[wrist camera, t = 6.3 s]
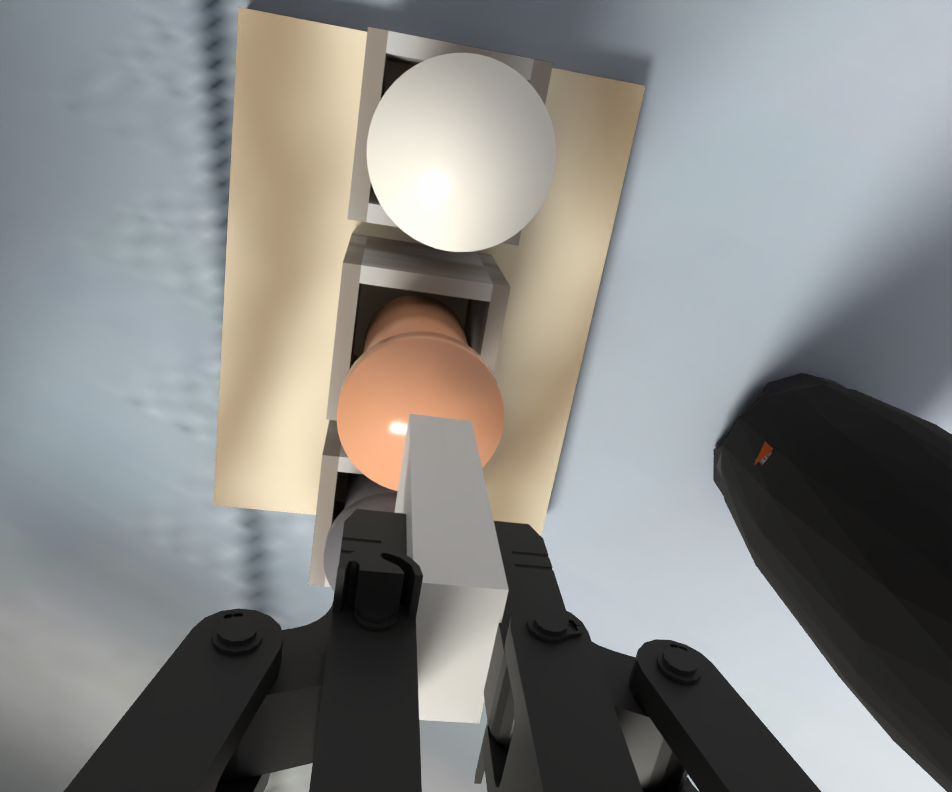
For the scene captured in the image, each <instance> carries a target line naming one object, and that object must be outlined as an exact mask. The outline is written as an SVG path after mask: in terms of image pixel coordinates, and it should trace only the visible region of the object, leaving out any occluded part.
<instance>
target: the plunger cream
mask: <svg viewBox="0 0 952 792" xmlns="http://www.w3.org/2000/svg"><path fill="white" fill-rule="evenodd" d="M555 164H556V141H555V133H554V129H553V125H552V121H551V118H550V116H549V113H548V110H547V108H546V106H545V105H544V103H543V101H542V99H541V97H540V96H539V94H538V93H537V92H536V90H535V89H534V87H533V86H532V85H531V84H530V83H529V82H528V81H527V80H526V79H525V78H524V77H523V76H522V75H520V74H519V73H518V72H517V71H516V70H514V69H513V68H511V67H509V66H508V65H506V64H504V63H503V62H500V61H498V60H496V59H493V58H491V57H487V56H483V55H480V54H472V53H450V54H444V55H439V56H436V57H433V58H430V59H427V60H425V61H423V62H421V63H419V64H417V65H415V66H413V67H412V68H410V69H409V70H407V71H406V72H405V73H403V74H402V75H401V76H400V77H399V78H398V79H397V80H396V81H395V82H394V83H393V84H392V85H391V86H390V88H389V89H388V90H387V91H386V93H385V94H384V96H383V97H382V99H381V100H380V102H379V104H378V106H377V108H376V110H375V113H374V115H373V118H372V121H371V124H370V127H369V133H368V139H367V167H368V172H369V177H370V181H371V184H372V187H373V190H374V192H375V195H376V197H377V199H378V201H379V203H380V204H381V206H382V208H383V209H384V211H385V212H386V214H387V215H388V216H389V217H390V218H391V220H392V221H393V222H394V223H395V224H396V225H397V226H398V227H399V228H400V229H401V230H403V231H404V232H405V233H406V234H408V235H409V236H411V237H412V238H414V239H415V240H417V241H419V242H421V243H423V244H425V245H428V246H430V247H433V248H436V249H440V250H445V251H452V252H472V251H478V250H483V249H486V248H490V247H493V246H495V245H498V244H500V243H502V242H504V241H506V240H507V239H509V238H511V237H512V236H514V235H515V234H517V233H518V232H519V231H520V230H521V229H523V228H524V227H525V226H526V225H527V224H528V223H529V222H530V221H531V220H532V218H533V217H534V216H535V215H536V213H537V212H538V210H539V209H540V208H541V206H542V204H543V202H544V200H545V199H546V197H547V194H548V192H549V189H550V187H551V184H552V180H553V176H554V172H555Z"/></svg>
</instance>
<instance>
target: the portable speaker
mask: <svg viewBox="0 0 952 792" xmlns="http://www.w3.org/2000/svg"><path fill="white" fill-rule="evenodd" d="M714 482H715V483H716V485H717V486H718V488H719V489H720V491H721V493H722V494H723V496H724V500H725V502H726V504H727V506H728V508H729V510H730V512H731V514H732V517H733V519H734V521H735V523H736V525H737V527H738V529H739V531H740V533H741V535H742V537H743V539H744V542H745V544H746V546H747V548H748V550H749V552H750V554H751V556H752V558H753V560H754V562H755V564H756V566H757V567H758V569H759V570H760V571H761V573H762V574H763V575H764V577H765V578H766V579H767V581H768V582H769V583H770V585H771V586H772V587H773V589H774V590H775V591H776V593H777V594H778V595H779V597H780V598H781V599H782V601H783V602H784V603H785V605H786V606H787V607H788V609H789V610H790V611H791V613H792V614H793V616H794V617H795V618H796V620H797V621H798V622H799V624H800V625H801V626H802V628H803V629H804V630H805V632H806V633H807V634H808V636H809V637H810V638H811V640H812V641H813V642H814V644H815V645H816V646H817V648H818V649H819V650H820V652H821V653H822V654H823V656H824V657H825V658H826V660H827V661H828V662H829V664H830V665H831V666H832V668H833V669H834V670H835V672H836V673H837V674H838V676H839V677H840V678H841V680H842V681H843V682H844V683H845V684H846V685H847V687H848V688H849V689H850V690H851V691H852V692H853V694H854V695H855V696H856V697H857V698H858V700H859V701H860V702H861V703H862V704H863V705H864V707H865V708H866V709H867V710H868V711H869V712H870V714H871V715H872V716H873V717H874V718H875V720H876V721H877V722H878V723H879V724H880V725H881V727H882V728H883V729H884V730H885V731H886V732H887V734H888V735H889V736H890V737H891V738H892V740H893V741H894V742H895V743H896V744H898V745H899V746H900V747H901V748H902V749H903V750H904V751H905V752H906V753H907V754H908V755H909V756H910V757H911V758H912V759H913V760H914V761H915V762H916V763H917V764H919V765H920V766H921V767H922V768H923V769H924V770H925V771H926V772H927V773H928V774H929V775H930V776H931V777H932V778H933V779H934V780H935V781H936V782H937V783H939V784H940V785H941V786H942V787H943V788H944V789H945V790H946V791H947V792H952V434H950V433H948V432H947V431H945V430H943V429H942V428H940V427H939V426H937V425H935V424H933V423H931V422H928V421H926V420H924V419H921V418H919V417H917V416H914V415H912V414H910V413H907V412H905V411H903V410H900V409H898V408H896V407H893V406H891V405H889V404H886V403H884V402H882V401H879V400H877V399H875V398H872V397H870V396H868V395H865V394H863V393H861V392H858V391H856V390H851V389H847V388H845V387H843V386H841V385H839V384H837V383H835V382H833V381H830V380H826V379H823V378H819V377H815V376H811V375H807V374H803V373H802V374H799V375H795V376H792V377H788V378H785V379H781V380H778V381H774V382H771V383H768V384H767V386H766V388H765V390H764V392H763V394H762V396H761V397H760V398H759V399H758V400H757V401H756V402H755V403H754V404H753V405H752V406H751V407H750V408H749V409H748V410H747V411H746V412H745V413H744V414H743V415H742V416H740V417H739V419H738V420H737V422H736V423H735V425H734V426H733V428H732V429H731V431H730V433H729V434H728V436H727V437H726V439H725V440H724V442H723V444H722V445H721V446H719V447H717V448H715V449H714Z"/></svg>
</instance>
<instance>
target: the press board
mask: <svg viewBox="0 0 952 792" xmlns="http://www.w3.org/2000/svg"><path fill="white" fill-rule="evenodd" d="M450 53H472V54H480V55H483V56H487V57H491V58H493V59H496V60H498V61H500V62H503V63H504V64H506V65H508V66H509V67H511V68H513V69H514V70H516V71H517V72H518V73H519V74H520V75H522V76H523V77H524V78H525V79H526V80H527V81H528V82H529V83H530V84H531V85H532V86H533V87H534V89H535V90H536V92H537V93H538V94H539V96H540V97H541V99H542V101H543V103H544V105H545V106H546V108H547V110H548V113H549V116H550V118H551V121H552V125H553V129H554V133H555V141H556V164H555V172H554V176H553V180H552V184H551V187H550V189H549V192H548V194H547V197H546V199H545V200H544V202H543V204H542V206H541V208H540V209H539V210H538V212H537V213H536V215H535V216H534V217H533V218H532V220H531V221H530V222H529V223H528V224H527V225H526V226H525V227H524V228H523V229H521V230H520V231H519V232H518V233H517V234H515V235H514V236H512V237H511V238H509V239H507V240H506V241H504V242H502V243H500V244H498V245H495V246H493V247H490V248H486V249H483V250H478V251H472V252H452V251H445V250H440V249H436V248H433V247H430V246H428V245H425V244H423V243H421V242H419V241H417V240H415V239H414V238H412V237H411V236H409V235H408V234H406V233H405V232H404V231H403V230H401V229H400V228H399V227H398V226H397V225H396V224H395V223H394V222H393V221H392V220H391V218H390V217H389V216H388V215H387V214H386V212H385V211H384V209H383V208H382V206H381V204H380V203H379V201H378V199H377V197H376V195H375V192H374V190H373V187H372V184H371V181H370V177H369V172H368V167H367V139H368V133H369V127H370V124H371V121H372V118H373V115H374V113H375V110H376V108H377V106H378V104H379V102H380V100H381V99H382V97H383V96H384V94H385V93H386V91H387V90H388V89H389V88H390V86H391V85H392V84H393V83H394V82H395V81H396V80H397V79H398V78H399V77H400V76H401V75H402V74H403V73H405V72H406V71H407V70H409V69H410V68H412V67H413V66H415V65H417V64H419V63H421V62H423V61H425V60H427V59H430V58H433V57H436V56H439V55H444V54H450ZM552 66H553V63H552V62H547V61H542V60H536V59H531V58H526V57H521V56H516V55H511V54H506V53H500V52H495V51H490V50H485V49H480V48H475V47H470V46H464V45H459V44H454V43H449V42H444V41H439V40H434V39H428V38H423V37H418V36H413V35H408V34H403V33H398V32H392V31H387V30H382V29H377V28H372V27H368V30H367V32H365V31H360V30H355V29H350V28H345V27H339V26H334V25H329V24H324V23H319V22H314V21H308V20H303V19H298V18H293V17H288V16H283V15H277V14H272V13H267V12H262V11H257V10H252V9H246V8H241V7H239V14H238V34H237V54H236V73H235V93H234V113H233V133H232V153H231V173H230V192H229V212H228V232H227V252H226V272H225V291H224V311H223V331H222V351H221V371H220V390H219V410H218V430H217V450H216V470H215V489H214V505H218V506H228V507H239V508H250V509H260V510H271V511H282V512H292V513H303V514H313V515H316V519H315V528H314V537H313V547H312V556H311V565H310V575H309V584H308V585H314V586H326V587H331V586H330V584H329V582H328V580H327V578H326V575H325V571H324V564H323V561H324V551H325V544H326V539H327V535H328V532H329V529H330V527H331V525H332V523H333V522H334V520H335V519H336V518H337V516H338V515H339V514H340V513H341V512H342V511H343V510H344V507H345V499H346V491H347V483H348V475H349V473H356V474H363V473H362V472H361V471H360V470H358V469H357V468H356V467H355V465H354V464H353V463H352V462H351V460H350V459H349V457H348V456H347V454H346V452H345V451H344V449H343V446H342V444H341V441H340V438H339V434H338V429H337V408H338V402H339V397H340V392H341V388H342V385H343V382H344V379H345V377H346V375H347V373H348V371H349V370H350V368H351V367H352V365H353V364H354V363H355V361H356V360H357V359H358V358H359V357H360V356H361V355H362V354H363V350H364V342H365V335H366V331H367V328H368V325H369V323H370V321H371V319H372V317H373V316H374V315H375V313H376V312H377V311H378V310H379V309H380V308H381V307H382V306H384V305H385V304H386V303H388V302H390V301H392V300H394V299H396V298H399V297H402V296H407V295H424V296H428V297H432V298H435V299H437V300H439V301H441V302H443V303H444V304H445V305H447V306H448V307H449V308H450V309H452V311H453V312H454V313H455V314H456V315H457V317H458V318H459V320H460V322H461V324H462V326H463V329H464V333H465V336H466V340H467V343H468V346H469V347H471V348H472V349H473V350H475V351H476V352H477V353H478V354H479V355H480V356H481V357H482V358H483V359H484V361H485V362H486V363H487V364H488V366H489V367H490V369H491V370H492V372H493V374H494V377H495V379H496V381H497V384H498V387H499V390H500V393H501V396H502V399H503V405H504V427H503V432H502V436H501V439H500V442H499V444H498V446H497V449H496V450H495V452H494V454H493V455H492V457H491V458H490V460H489V461H488V462H487V463H486V465H485V466H484V467H483V468H482V470H483V474H484V479H485V484H486V488H487V493H488V497H489V502H490V507H491V511H492V516H493V520H494V521H503V522H513V523H523V524H529V525H530V526H531V527H532V528H533V529H534V530H535V531H536V532H537V533H538V534H539V535H540V536H541V535H542V530H543V526H544V522H545V518H546V513H547V509H548V505H549V500H550V496H551V492H552V487H553V483H554V479H555V474H556V470H557V466H558V462H559V457H560V453H561V449H562V444H563V440H564V436H565V431H566V427H567V423H568V418H569V414H570V410H571V406H572V401H573V397H574V393H575V388H576V384H577V380H578V375H579V371H580V367H581V362H582V358H583V354H584V350H585V345H586V341H587V337H588V332H589V328H590V324H591V319H592V315H593V311H594V306H595V302H596V298H597V293H598V289H599V285H600V281H601V276H602V272H603V268H604V263H605V259H606V255H607V250H608V246H609V242H610V237H611V233H612V229H613V225H614V220H615V216H616V212H617V207H618V203H619V199H620V194H621V190H622V186H623V181H624V177H625V173H626V169H627V164H628V160H629V156H630V151H631V147H632V143H633V138H634V134H635V130H636V125H637V121H638V117H639V113H640V108H641V104H642V100H643V95H644V91H645V87H646V86H644V85H639V84H634V83H629V82H624V81H619V80H613V79H608V78H603V77H598V76H593V75H588V74H582V73H577V72H572V71H567V70H562V69H557V68H552Z"/></svg>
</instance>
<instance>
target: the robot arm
mask: <svg viewBox="0 0 952 792" xmlns="http://www.w3.org/2000/svg"><path fill="white" fill-rule="evenodd" d="M484 699H485V706H486V713H487V725H486V729H485V734H484V738H483V743H482V747H481V751H480V756H479V760H478V765H477V769H476V775H475V783H477V784H481V782H482V778H483V773H484V771H485V775H486V783H487V791H488V792H821V791H820V790H819V788H818V787H817V786H816V785H815V784H814V783H813V781H812V780H811V779H810V778H809V777H808V775H807V774H806V773H805V772H804V771H803V770H802V768H801V767H800V766H799V765H798V764H797V763H796V761H795V760H794V759H793V758H792V757H791V755H790V754H789V753H788V752H787V751H786V750H785V748H784V747H783V746H782V745H781V744H780V743H779V741H778V740H777V739H776V738H775V737H774V735H773V734H772V733H771V732H770V731H769V730H768V728H767V727H766V726H765V725H764V724H763V722H762V721H761V720H760V719H759V718H758V717H757V715H756V714H755V713H754V712H753V711H752V710H751V708H750V707H749V706H748V705H747V704H746V702H745V701H744V700H743V699H742V698H741V697H740V695H739V694H738V693H737V692H736V691H735V690H734V688H733V687H732V686H731V685H730V684H729V682H728V681H727V680H726V679H725V678H724V677H723V675H722V674H721V673H720V672H719V671H718V669H717V668H716V667H715V666H714V665H713V664H712V663H711V662H710V661H709V660H708V659H707V658H706V657H705V656H704V655H702V654H701V653H700V652H698V651H696V650H694V649H693V648H691V647H689V646H687V645H685V644H682V643H678V642H675V641H672V640H657V639H656V640H653V641H649V642H646V643H644V644H643V645H642V646H641V647H640V648H639V650H638V652H637V655H636V658H635V657H632V656H628V655H625V654H622V653H618V652H615V651H612V650H609V649H606V648H604V647H601V646H599V645H597V644H595V643H593V642H592V641H591V639H590V636H589V633H588V631H587V629H586V628H585V626H584V624H583V623H582V622H581V621H580V620H579V619H578V618H577V617H575V616H574V615H573V614H572V613H570V612H568V611H566V609H565V606H564V603H563V599H562V596H561V593H560V590H559V587H558V584H557V581H556V578H555V574H554V571H553V570H552V565H551V562H550V559H549V558H548V553H547V549H546V546H545V543H544V540H543V538H542V537H541V536H540V535H539V534H538V533H537V532H536V531H535V530H534V529H533V528H532V527H531V526H530V525H529V524H523V523H513V522H503V521H494V520H493V516H492V511H491V507H490V502H489V497H488V493H487V488H486V484H485V479H484V474H483V470H482V465H481V461H480V456H479V451H478V447H477V442H476V438H475V433H474V428H473V424H472V421H467V420H458V419H450V418H442V417H433V416H425V415H416V414H409V418H408V425H407V432H406V438H405V445H404V452H403V459H402V465H401V472H400V479H399V485H398V492H397V499H396V505H395V512H384V511H374V510H364V509H356V510H355V511H354V512H353V513H352V514H351V515H350V516H349V517H348V518H347V519H346V520H345V521H344V528H343V536H342V543H341V551H340V559H339V566H338V568H337V577H336V585H335V593H334V601H333V604H332V607H331V608H330V610H329V611H328V612H327V614H326V615H324V616H323V617H321V618H320V619H319V620H317V621H315V622H313V623H311V624H308V625H306V626H302V627H297V628H293V629H286V630H281V627H280V625H279V624H278V623H277V622H276V621H275V620H274V619H273V618H271V617H270V616H268V615H266V614H263V613H261V612H258V611H256V610H246V609H233V610H226V611H220V612H218V613H215V614H213V615H210V616H208V617H206V618H204V619H203V620H202V621H201V622H199V623H198V624H197V625H196V626H195V627H194V628H193V629H192V630H191V631H190V633H189V634H188V635H187V636H186V638H185V639H184V640H183V642H182V643H181V644H180V645H179V647H178V648H177V649H176V650H175V652H174V653H173V654H172V655H171V657H170V658H169V659H168V660H167V662H166V663H165V664H164V666H163V667H162V668H161V669H160V671H159V672H158V673H157V674H156V676H155V677H154V678H153V679H152V681H151V682H150V683H149V684H148V686H147V687H146V688H145V690H144V691H143V692H142V693H141V695H140V696H139V697H138V698H137V700H136V701H135V702H134V703H133V705H132V706H131V707H130V708H129V710H128V711H127V712H126V714H125V715H124V716H123V717H122V719H121V720H120V721H119V722H118V724H117V725H116V726H115V727H114V729H113V730H112V731H111V732H110V734H109V735H108V736H107V738H106V739H105V740H104V741H103V743H102V744H101V745H100V746H99V748H98V749H97V750H96V751H95V753H94V754H93V755H92V756H91V758H90V759H89V760H88V762H87V763H86V764H85V765H84V767H83V768H82V769H81V770H80V772H79V773H78V774H77V775H76V777H75V778H74V779H73V780H72V782H71V783H70V784H69V786H68V787H67V788H66V789H65V791H64V792H263V791H264V789H265V787H266V785H267V783H268V779H269V775H270V773H272V772H276V771H280V770H284V769H289V768H293V767H297V766H301V765H305V764H310V763H313V766H312V774H311V782H310V790H309V792H422V788H421V758H420V728H419V720H431V721H448V722H465V723H479V722H480V718H481V713H482V709H483V704H484ZM687 775H689V776H690V778H691V779H692V781H693V782H694V784H695V785H696V786H697V788H698V789H699V791H698V790H697V789H696V788H695V787H694V786H693V785H692V783H691V782H690V780H689V779H688V777H687Z"/></svg>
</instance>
